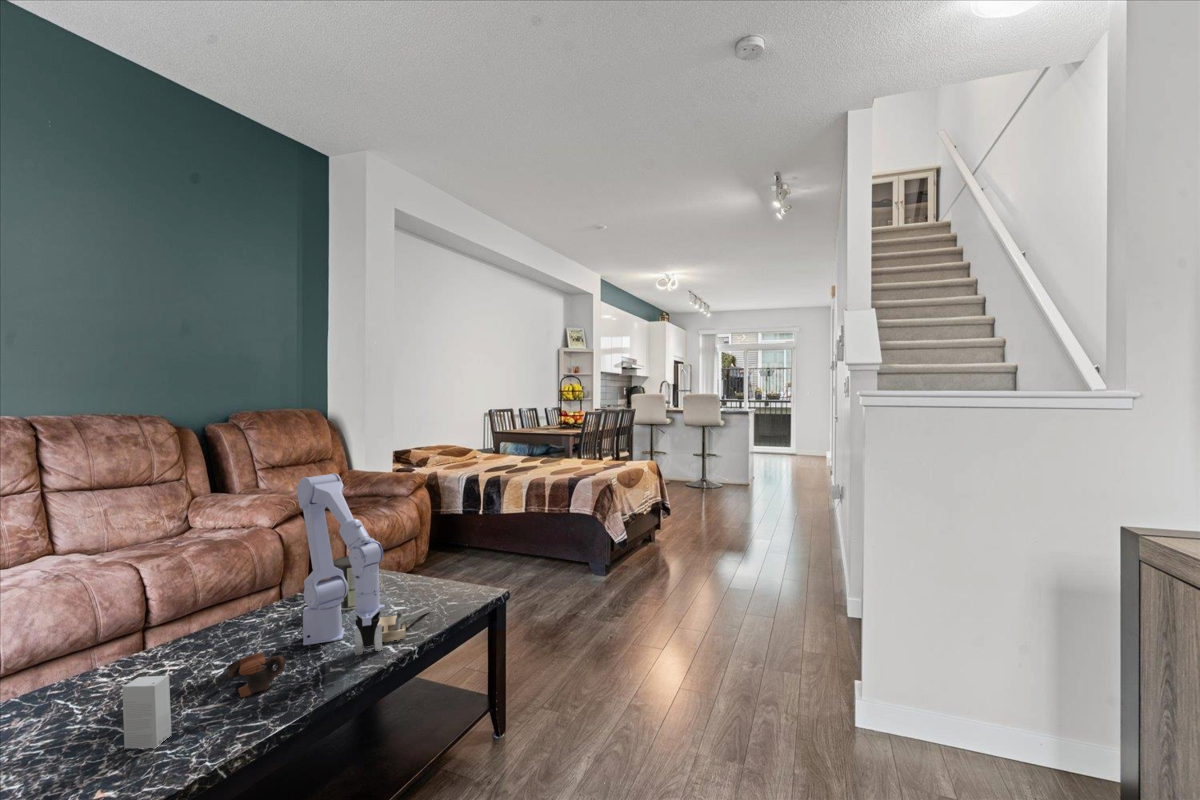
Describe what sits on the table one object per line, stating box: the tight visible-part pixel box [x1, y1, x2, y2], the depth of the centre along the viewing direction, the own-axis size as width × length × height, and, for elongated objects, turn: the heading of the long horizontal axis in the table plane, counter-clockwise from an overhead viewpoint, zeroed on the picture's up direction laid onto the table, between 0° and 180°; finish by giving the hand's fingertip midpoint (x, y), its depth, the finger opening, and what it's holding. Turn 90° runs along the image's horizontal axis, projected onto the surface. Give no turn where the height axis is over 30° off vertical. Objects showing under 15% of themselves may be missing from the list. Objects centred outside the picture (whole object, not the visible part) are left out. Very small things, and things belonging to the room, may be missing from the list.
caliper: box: [395, 606, 433, 630], centre depth 165 cm, size 20×1×6 cm, turn 172°
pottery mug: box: [224, 652, 286, 698], centre depth 132 cm, size 12×10×8 cm
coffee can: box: [333, 555, 356, 611], centre depth 182 cm, size 10×10×14 cm
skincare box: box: [121, 675, 172, 749], centre depth 110 cm, size 6×4×12 cm
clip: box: [354, 624, 383, 656], centre depth 148 cm, size 6×2×6 cm, turn 110°
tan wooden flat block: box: [373, 613, 407, 645], centre depth 159 cm, size 10×12×2 cm
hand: (368, 643), depth 148 cm, fingers closed on clip, 2 cm apart
